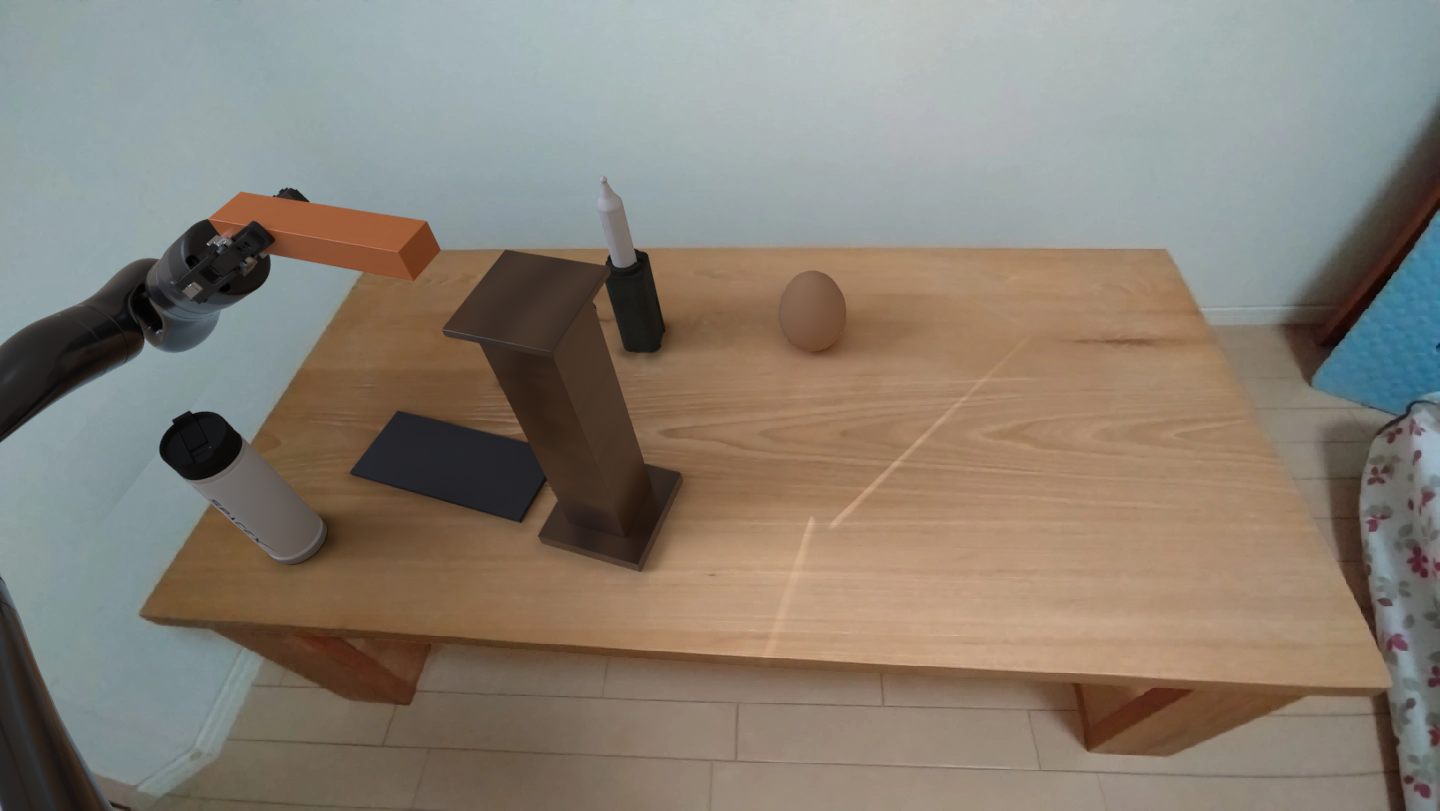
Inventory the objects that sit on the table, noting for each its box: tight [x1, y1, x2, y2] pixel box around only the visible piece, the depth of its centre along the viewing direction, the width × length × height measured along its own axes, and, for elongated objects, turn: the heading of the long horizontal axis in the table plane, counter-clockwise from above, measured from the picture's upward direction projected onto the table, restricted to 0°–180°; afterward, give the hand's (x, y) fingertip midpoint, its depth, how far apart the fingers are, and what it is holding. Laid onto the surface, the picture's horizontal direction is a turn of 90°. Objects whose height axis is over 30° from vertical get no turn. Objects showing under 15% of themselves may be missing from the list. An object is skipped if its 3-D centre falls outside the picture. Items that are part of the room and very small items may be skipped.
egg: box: [778, 270, 847, 352], centre depth 95 cm, size 8×8×11 cm
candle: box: [596, 175, 666, 353], centre depth 93 cm, size 5×5×25 cm
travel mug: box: [158, 410, 328, 565], centre depth 81 cm, size 6×7×20 cm
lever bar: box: [207, 191, 442, 282], centre depth 65 cm, size 20×4×3 cm, turn 70°
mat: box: [349, 410, 547, 524], centre depth 92 cm, size 24×10×1 cm, turn 70°
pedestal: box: [441, 249, 684, 573], centre depth 74 cm, size 12×12×32 cm
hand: (281, 215), depth 65 cm, fingers closed on lever bar, 4 cm apart
